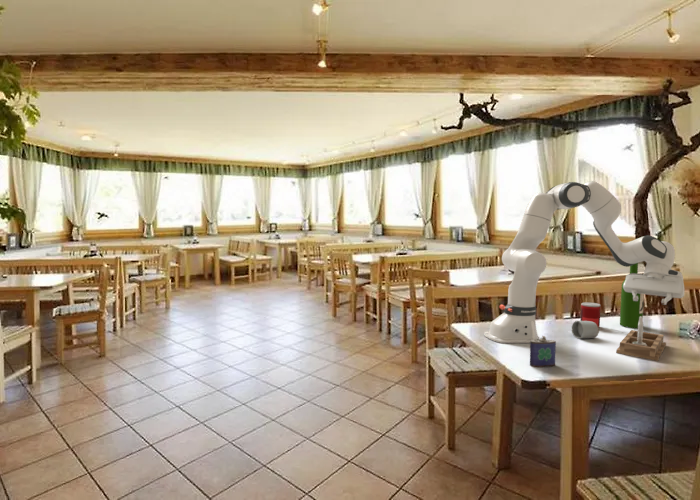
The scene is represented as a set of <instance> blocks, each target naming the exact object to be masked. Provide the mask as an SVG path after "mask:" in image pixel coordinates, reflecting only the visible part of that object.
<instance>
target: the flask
mask: <svg viewBox="0 0 700 500" xmlns="http://www.w3.org/2000/svg"><path fill="white" fill-rule="evenodd" d="M556 344H557V341H556V340H555V339H554V340H553V339H548V337H546V336H545V335H542V337H541V338H539V339H537V340H536V339H534V340H532V341H530V344H529V345H530V347H529V366H530V367H534V368H545V367H547V368H548V367H554V366H556V350H557V349H556V348H557V346H556Z"/></svg>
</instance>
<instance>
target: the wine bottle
mask: <svg viewBox="0 0 700 500" xmlns="http://www.w3.org/2000/svg"><path fill="white" fill-rule="evenodd" d="M638 268H639V263H636V264H634V265H632V266H629V274H631V273H635V274H639V273H638V272H639V271H638V270H639V269H638ZM624 282H625V279H624V280H623V282H622V284H621V293H620V311H619V312H620V313H619V325H620V326H621V327H624V328H629V329H638V323H639V317H640V316H641V317H642V318H644V317H643V316H644V301H645V294H639V293H637V294H636V296H638V298H639V299H638V301H633V294H632V293H630V292H625V290H624V288H623V284H624Z"/></svg>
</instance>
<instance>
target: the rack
mask: <svg viewBox="0 0 700 500" xmlns="http://www.w3.org/2000/svg"><path fill="white" fill-rule="evenodd" d="M637 333H638V331H637V330H633V329H630V331H629V332H628V333H627V334H626V335H625V336H624V338H623V339H621V341H620V342H619V347H618V348H617V349H616V350H615V351H616V354H620V355H626V356H629V357H630V356H631V357H637V358H641V359H645V360H652V361H657V362H658V361H659V360H660V358H661V356H662V354H663V352H664V350H665V349H666V346H667V342H665V341H664V336H665V335H664V334H661V333H654V332H645V331H643V334H642V336H643V337H642V339H643V340H642V342H643V343H646V344H647V346H643V345H638V344H632V342H635V341H637V336H638V334H637Z"/></svg>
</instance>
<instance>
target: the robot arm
mask: <svg viewBox="0 0 700 500" xmlns="http://www.w3.org/2000/svg"><path fill="white" fill-rule="evenodd" d="M580 206H581V207H583V208H584V209H585V210H586V211H587V212H588V213H589V215H591V217H592V218H593V221H592V225H593V228H594V229H595V231H596V232H597V234H598V235H599V237H600V238H601V240H602V241H603V243H604V244H605V245H606V247H607V248H608V249H609V252H610V253H611V254H612V257H613V259H614V260H615V262H616V263H617V264H618V265H621V266H622V267H626V268H627V267H629V268H630V266H632V265H634V264H636V263H638V264H639V263H642V262H645V263H646V264H645V267H644V270H643V273H638V274H635V273H631V274H630V273H628V274H626V275H625V279H624V280H625V282H624V284H623V288H624V290H625V292H630V293H632V294H633V301H638V299H639V298H638V296H636V294H637V293H639V294H644V295H648V296H657V297H665V298H662V299H661V301H660V302H661V305H664V306H665V305H667V304H668V302H669V301H671V300H672V299H673V298H676V299H682V298H684V297H685V293H686V292H685V284H684V283H685V282H684V276H683V273H682V272H681V271H678V270H675V269H672V267H673V266H674V263H675V259H676V250H675V247H674V245H673V244H671V243H670V242H668V241H665V240H664V241H663V240H660V239H658V238H657V237H655V236H652V235H649V234H647V235H644V236H641V237H639V238H635V239H634V240H630V241H628V242H623V241H621V239H620V238H619V236H617V234H616V233H615V231H614V230H613V227H612V225H613V224H614V223H615V222H616V221H617V219H618V218H619V217H620V215H621V213H622V205H621V202H620V201H619V200H618V198H617V197H615V196H614V195H613V194H612V193H611V192H610V190H608V189H607V188H606V187H605V186H603V185H602V184H600V183H599V182H598V181H594V180H590V181H586V182H585V183H580V182H575V181H569V182H565V183H560V184H557V185H554V186H553V187H551V188H549V190H547V191H546V192H537V193H535V194H534V195H532V197H531V198H530V200H529V202H528V204H527V206H526V209H525V211H524V214H523V215H522V219H521V222H520V226H519V228H518V231H517V233H516V235H515V236H514V239H513V240H512V242H511V243H510V245H509V247H508V248H507V249H505V250H504V252H503V253H502V256H501V262H502V264H503V266H504V267H505V268H506V269H508V270H510V271H511V272H513V277H512V280H511V283H510V284H509V285H508V293H507V294H508V295H507V304H506V305H504V304H500V305H499V309H500V310H503V312H502V314H500V315H499V316H497V317H496V318H494V320H492V321H491V322H490V326H489V331H484V337H486V338H487V339H489V340H491V341H494V342H496V343H501V344H506V343H509V344H511V343H513V344H525V343H527V344H529V343H530V341H532V340H534V339H536V340H539V336H538V335H539V334H538V331H537V324H536V316H537V305H536V300H537V299H536V297H537V296H536V295H537V294H536V293H537V288H538V286H537V285H538V282H539V280H540V278H541V277H540V276H541V274H542V273H543V272H545V269H546V268H547V259H546V257H545V255H543V254H542V253H541V252H539V251H537V248H538V247H539V245H540V244H541V243H542V242H544V241H545V239H546V237H547V234H548V231H549V227H550V225H551V222H552V219H553V215H554V214H555V212H556V211H557V210H570V209H573V208H575V209H576V208H578V207H580Z"/></svg>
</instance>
